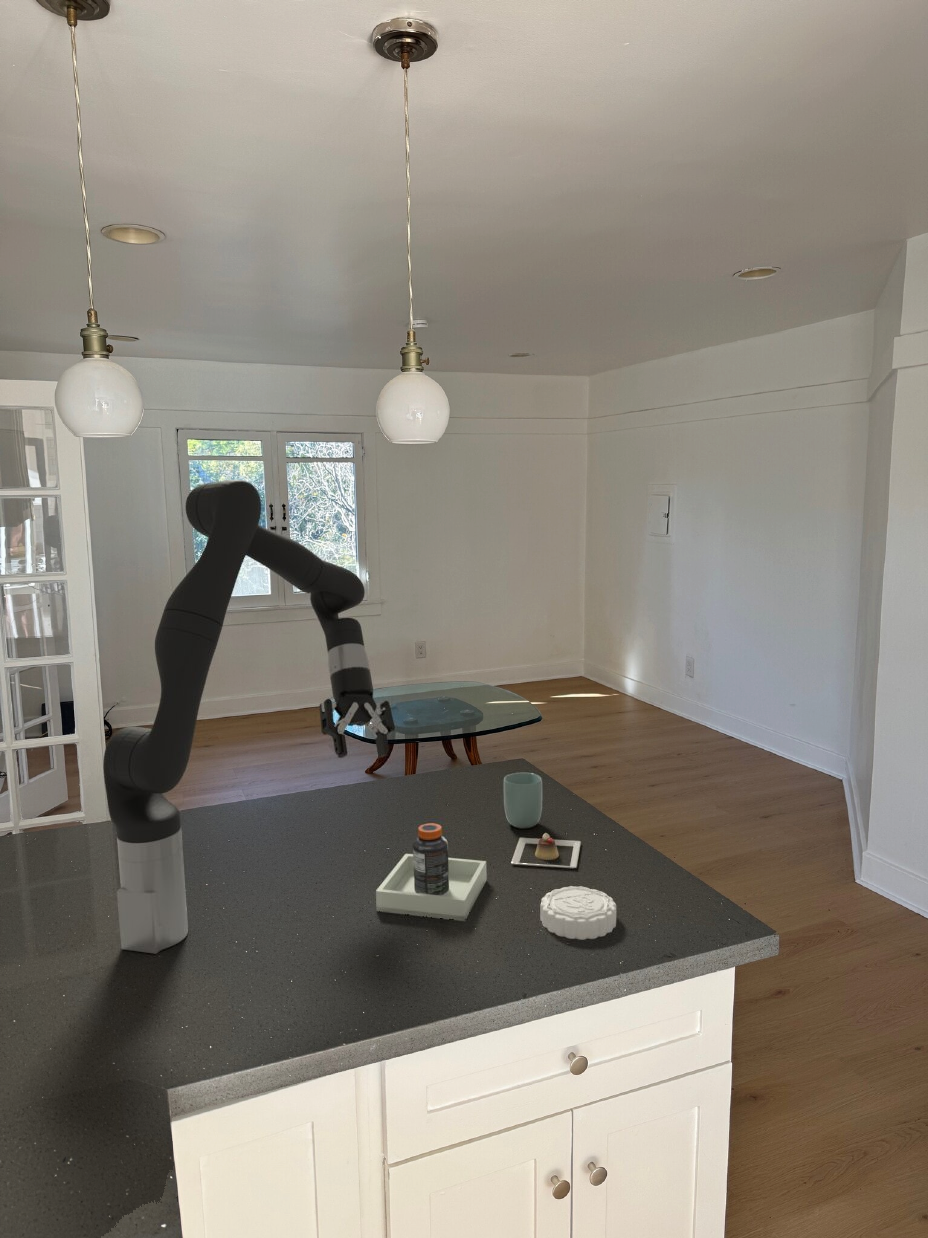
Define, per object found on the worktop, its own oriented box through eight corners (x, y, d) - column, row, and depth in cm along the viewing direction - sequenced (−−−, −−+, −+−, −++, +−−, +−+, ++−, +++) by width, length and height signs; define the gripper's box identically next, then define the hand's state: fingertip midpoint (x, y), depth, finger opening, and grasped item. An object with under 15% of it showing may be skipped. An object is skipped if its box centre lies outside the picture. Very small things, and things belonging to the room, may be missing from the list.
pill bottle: (451, 883, 144) (449, 820, 142) (447, 899, 138) (445, 834, 136) (417, 882, 144) (415, 820, 143) (411, 898, 139) (409, 833, 137)
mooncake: (557, 946, 125) (557, 924, 124) (529, 910, 136) (529, 889, 136) (629, 934, 128) (630, 912, 127) (596, 899, 139) (596, 879, 139)
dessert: (576, 873, 150) (576, 848, 149) (510, 869, 152) (510, 844, 152) (580, 846, 161) (580, 823, 161) (519, 842, 164) (519, 819, 163)
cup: (497, 822, 173) (497, 775, 172) (530, 815, 177) (530, 770, 175) (515, 835, 166) (515, 787, 165) (549, 828, 170) (548, 781, 168)
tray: (464, 921, 132) (464, 900, 132) (376, 911, 136) (375, 891, 135) (486, 880, 146) (486, 861, 146) (406, 872, 150) (405, 853, 150)
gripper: (326, 663, 148) (339, 750, 142) (392, 667, 157) (407, 749, 151) (306, 678, 153) (318, 763, 147) (371, 681, 162) (385, 761, 156)
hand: (363, 756), depth 149 cm, fingers open, 8 cm apart
